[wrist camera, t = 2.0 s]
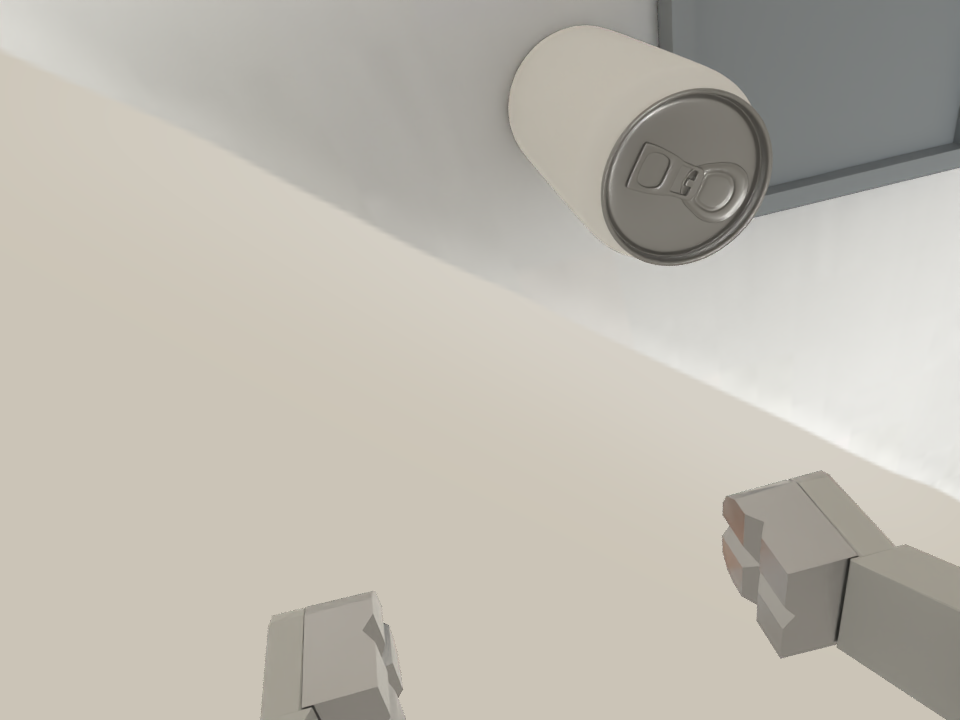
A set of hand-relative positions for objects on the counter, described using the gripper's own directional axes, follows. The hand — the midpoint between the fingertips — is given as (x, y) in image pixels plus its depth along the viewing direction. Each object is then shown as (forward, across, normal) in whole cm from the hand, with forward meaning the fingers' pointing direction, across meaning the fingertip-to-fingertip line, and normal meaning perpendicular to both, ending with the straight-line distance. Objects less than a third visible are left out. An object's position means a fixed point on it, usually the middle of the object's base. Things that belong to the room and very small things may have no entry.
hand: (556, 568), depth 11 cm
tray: (+25, -20, 0) cm, 32 cm away
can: (+25, -8, 0) cm, 27 cm away
